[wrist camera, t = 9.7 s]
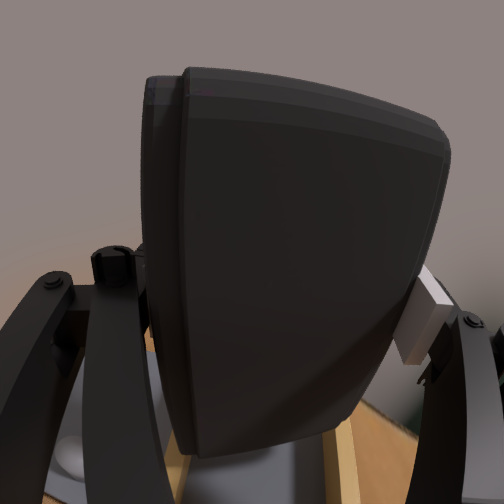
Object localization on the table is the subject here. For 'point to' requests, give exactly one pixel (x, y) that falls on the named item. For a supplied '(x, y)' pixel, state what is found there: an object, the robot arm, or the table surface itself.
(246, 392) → the card reader
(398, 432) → the table surface
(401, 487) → the table surface
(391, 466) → the table surface
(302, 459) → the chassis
